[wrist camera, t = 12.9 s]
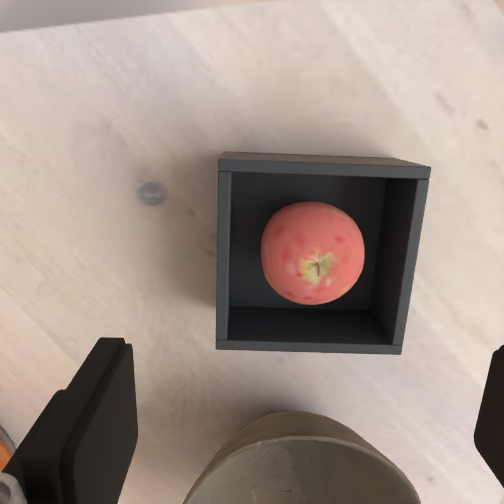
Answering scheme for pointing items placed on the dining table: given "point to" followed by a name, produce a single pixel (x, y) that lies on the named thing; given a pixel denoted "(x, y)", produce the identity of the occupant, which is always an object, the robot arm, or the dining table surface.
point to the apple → (311, 252)
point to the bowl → (300, 466)
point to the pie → (5, 449)
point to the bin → (373, 234)
